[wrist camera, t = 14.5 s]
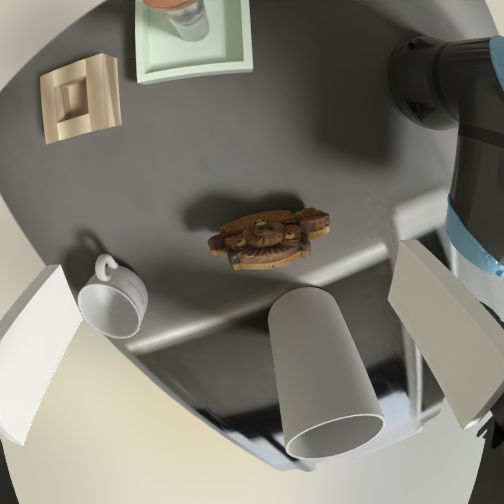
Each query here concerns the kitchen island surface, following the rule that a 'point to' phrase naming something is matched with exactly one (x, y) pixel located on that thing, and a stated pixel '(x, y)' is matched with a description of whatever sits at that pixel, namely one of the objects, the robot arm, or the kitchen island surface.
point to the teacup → (113, 299)
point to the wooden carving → (269, 238)
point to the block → (80, 98)
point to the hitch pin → (184, 17)
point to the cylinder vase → (320, 378)
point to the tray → (193, 43)
